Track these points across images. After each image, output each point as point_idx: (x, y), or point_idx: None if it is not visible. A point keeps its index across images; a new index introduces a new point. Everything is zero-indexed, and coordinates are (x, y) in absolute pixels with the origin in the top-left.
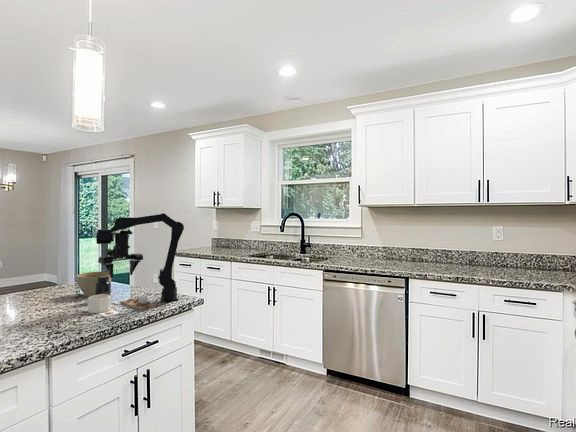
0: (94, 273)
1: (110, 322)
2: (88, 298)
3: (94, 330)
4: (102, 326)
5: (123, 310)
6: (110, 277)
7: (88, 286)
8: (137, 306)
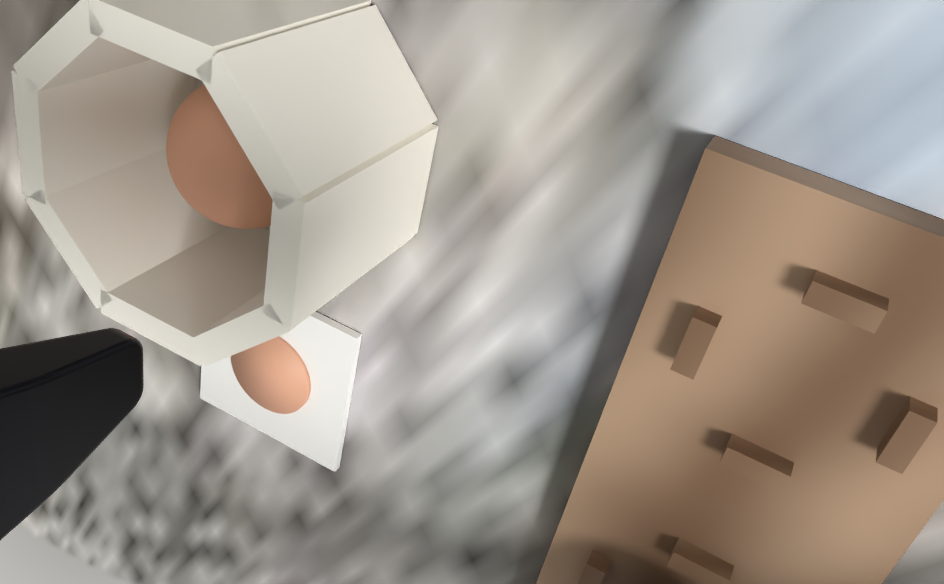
0: None
1: (166, 520)
2: (18, 96)
3: (40, 507)
4: (97, 513)
5: (441, 435)
6: (109, 331)
7: None
8: (558, 579)
